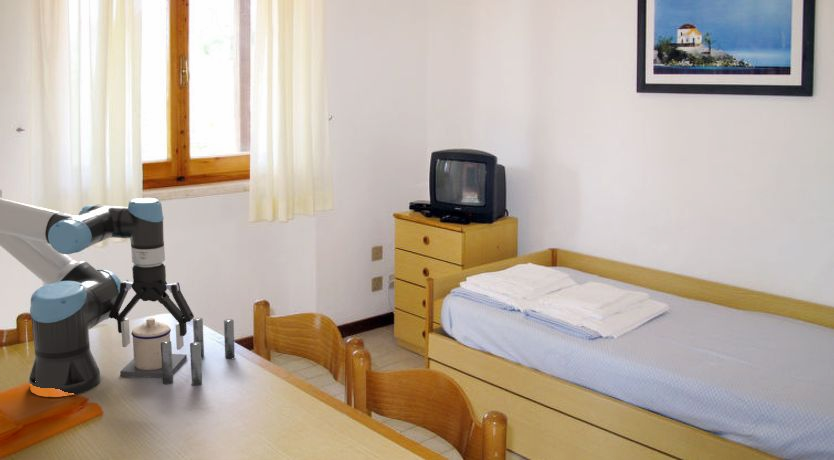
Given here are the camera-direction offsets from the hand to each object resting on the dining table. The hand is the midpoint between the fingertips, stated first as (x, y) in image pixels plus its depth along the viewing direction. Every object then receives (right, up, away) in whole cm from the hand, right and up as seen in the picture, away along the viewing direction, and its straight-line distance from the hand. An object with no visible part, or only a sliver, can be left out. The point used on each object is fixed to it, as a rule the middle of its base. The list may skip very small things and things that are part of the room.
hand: (153, 346), depth 193 cm
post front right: (+13, -8, -7) cm, 17 cm away
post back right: (+17, -4, +8) cm, 19 cm away
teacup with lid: (-1, -4, +1) cm, 5 cm away
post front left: (+6, -7, -7) cm, 12 cm away
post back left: (+9, -4, +9) cm, 13 cm away
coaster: (0, -5, +1) cm, 5 cm away
